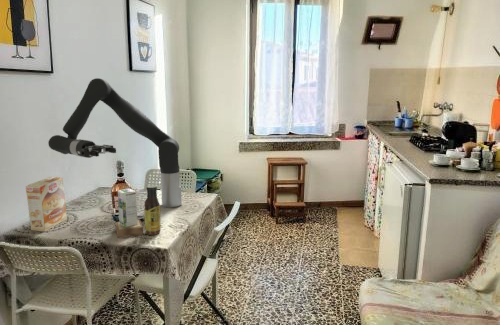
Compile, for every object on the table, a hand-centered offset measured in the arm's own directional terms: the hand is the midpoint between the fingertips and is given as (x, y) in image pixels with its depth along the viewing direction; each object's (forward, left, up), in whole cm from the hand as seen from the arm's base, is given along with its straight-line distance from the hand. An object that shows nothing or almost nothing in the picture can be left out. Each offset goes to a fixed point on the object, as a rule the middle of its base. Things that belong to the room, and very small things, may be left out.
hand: (106, 152), depth 157 cm
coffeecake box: (+25, -10, -32) cm, 42 cm away
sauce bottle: (-15, +16, -32) cm, 39 cm away
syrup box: (-6, +11, -29) cm, 32 cm away
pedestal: (-6, +11, -32) cm, 35 cm away
